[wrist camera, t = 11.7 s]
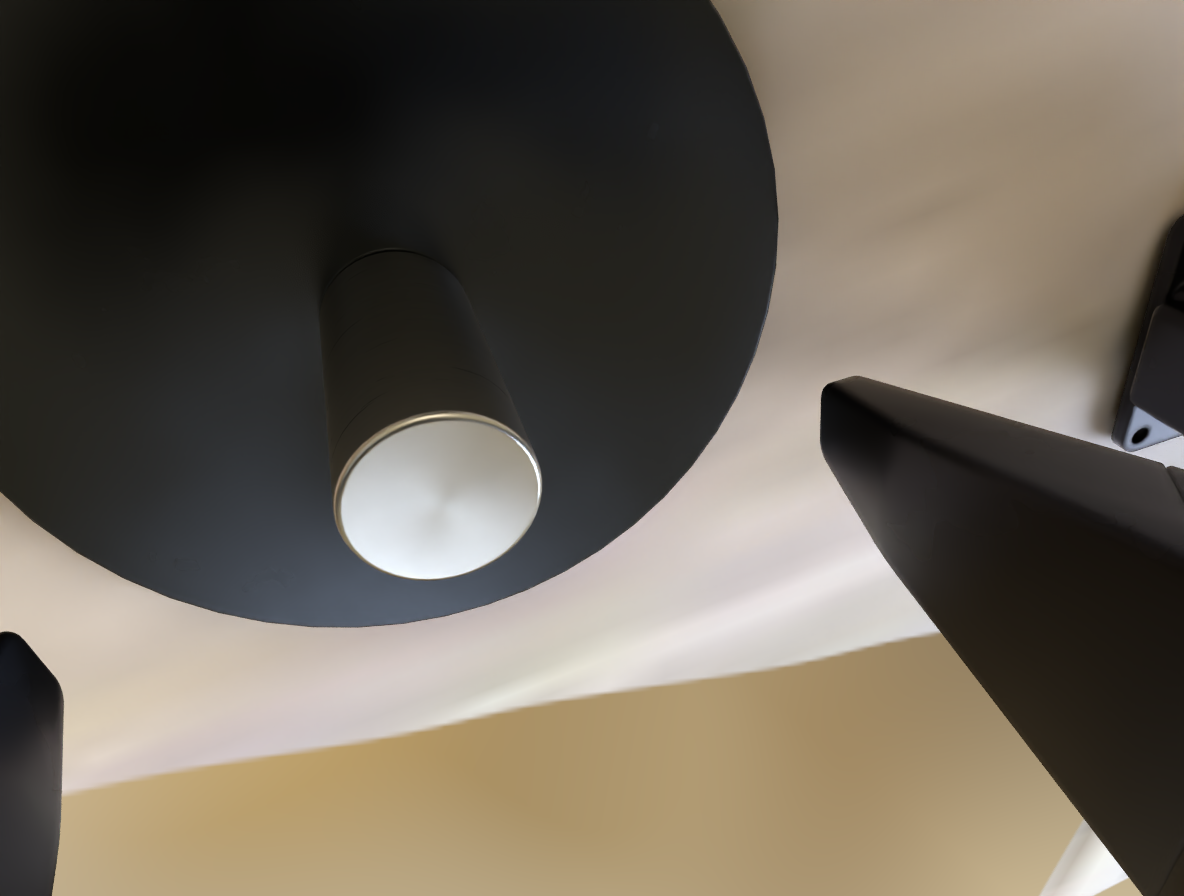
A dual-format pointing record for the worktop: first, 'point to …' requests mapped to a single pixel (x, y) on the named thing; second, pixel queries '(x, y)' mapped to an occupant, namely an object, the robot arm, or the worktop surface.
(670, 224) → the tin lid
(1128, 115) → the worktop surface
